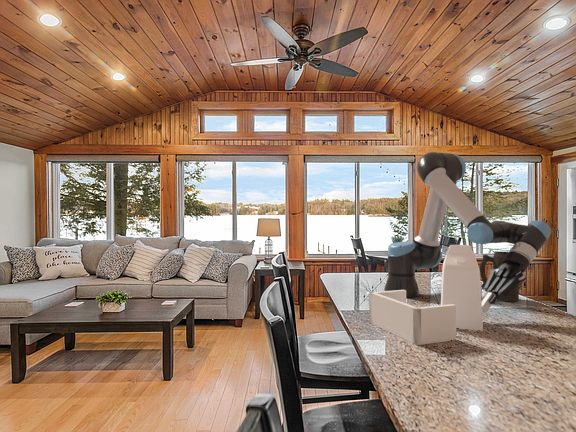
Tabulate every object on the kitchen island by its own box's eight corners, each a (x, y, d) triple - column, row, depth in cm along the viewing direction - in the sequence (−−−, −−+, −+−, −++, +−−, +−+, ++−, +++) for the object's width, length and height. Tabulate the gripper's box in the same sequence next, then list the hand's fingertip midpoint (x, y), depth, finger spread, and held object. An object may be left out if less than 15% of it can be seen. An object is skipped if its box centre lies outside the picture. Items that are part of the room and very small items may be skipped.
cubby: (369, 322, 133) (369, 292, 133) (403, 318, 137) (403, 289, 137) (416, 345, 109) (416, 309, 109) (456, 339, 113) (456, 305, 113)
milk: (478, 321, 133) (477, 244, 133) (483, 331, 122) (482, 246, 122) (440, 318, 137) (439, 243, 137) (441, 327, 126) (441, 246, 126)
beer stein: (513, 297, 171) (513, 250, 171) (525, 302, 160) (525, 253, 160) (476, 296, 172) (476, 250, 172) (486, 302, 162) (486, 253, 161)
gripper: (497, 249, 143) (461, 298, 138) (530, 252, 131) (491, 306, 125) (509, 262, 145) (473, 312, 139) (542, 267, 132) (504, 321, 127)
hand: (482, 309), depth 132 cm, fingers closed
